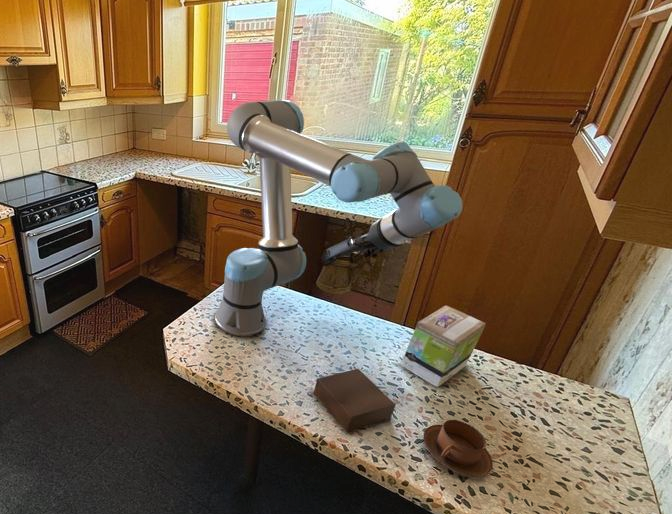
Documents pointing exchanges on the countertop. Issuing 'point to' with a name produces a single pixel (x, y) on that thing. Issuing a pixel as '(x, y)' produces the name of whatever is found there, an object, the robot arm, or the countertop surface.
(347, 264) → the wooden mug
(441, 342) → the tea box
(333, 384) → the walnut block
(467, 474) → the cup and saucer
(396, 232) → the robot arm
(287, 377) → the countertop surface
